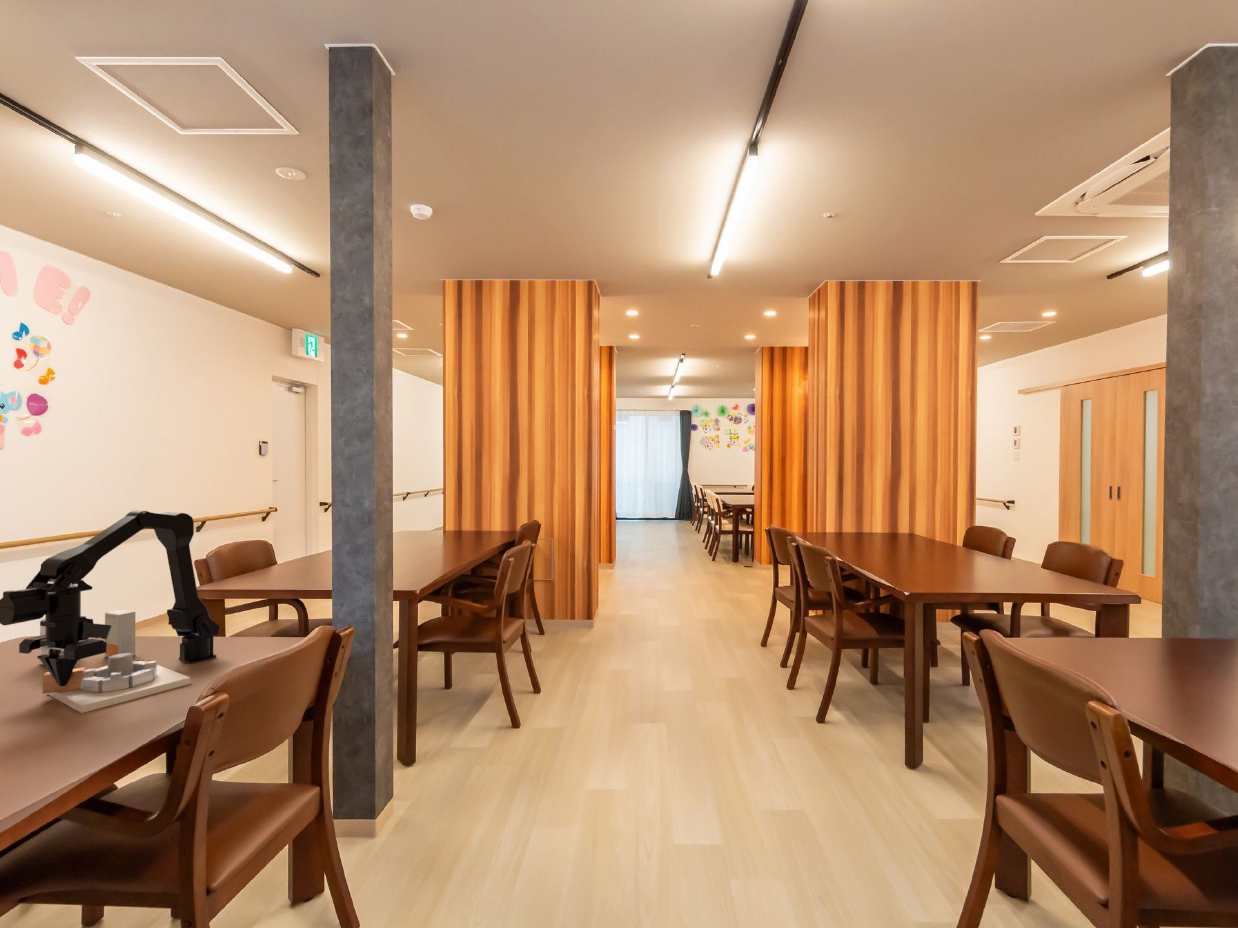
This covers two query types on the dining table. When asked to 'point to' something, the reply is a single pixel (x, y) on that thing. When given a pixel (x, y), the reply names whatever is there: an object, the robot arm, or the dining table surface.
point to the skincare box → (120, 632)
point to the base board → (124, 663)
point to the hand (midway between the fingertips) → (63, 685)
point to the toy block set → (103, 678)
